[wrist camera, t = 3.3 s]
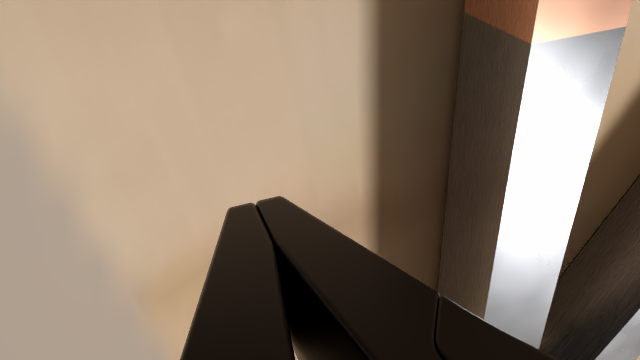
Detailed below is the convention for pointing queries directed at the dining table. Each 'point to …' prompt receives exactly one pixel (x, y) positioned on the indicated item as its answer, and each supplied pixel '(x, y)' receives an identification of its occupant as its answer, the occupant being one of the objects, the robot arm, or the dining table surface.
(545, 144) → the tongs arm
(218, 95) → the dining table surface
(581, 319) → the base
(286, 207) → the robot arm
